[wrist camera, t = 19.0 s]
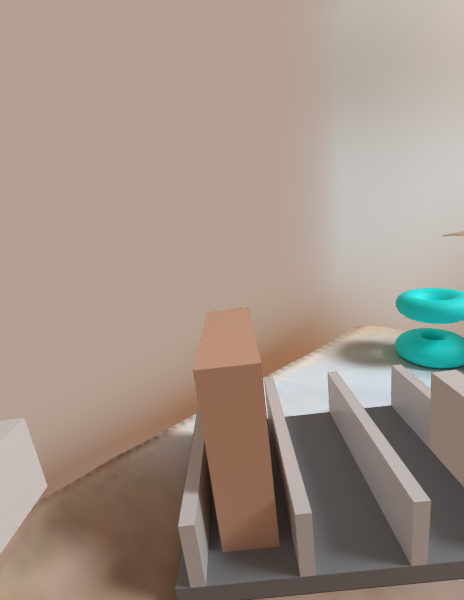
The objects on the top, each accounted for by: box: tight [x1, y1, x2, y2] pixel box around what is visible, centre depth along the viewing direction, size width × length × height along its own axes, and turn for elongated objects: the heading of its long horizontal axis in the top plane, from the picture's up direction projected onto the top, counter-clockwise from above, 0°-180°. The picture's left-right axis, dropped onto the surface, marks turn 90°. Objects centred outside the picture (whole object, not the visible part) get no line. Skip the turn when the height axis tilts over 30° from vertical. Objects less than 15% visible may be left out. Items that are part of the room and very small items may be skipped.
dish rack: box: [175, 364, 464, 600], centre depth 26 cm, size 24×16×6 cm, turn 91°
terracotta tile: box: [193, 307, 280, 552], centre depth 25 cm, size 4×12×14 cm, turn 1°
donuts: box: [395, 288, 464, 368], centre depth 46 cm, size 10×10×10 cm
